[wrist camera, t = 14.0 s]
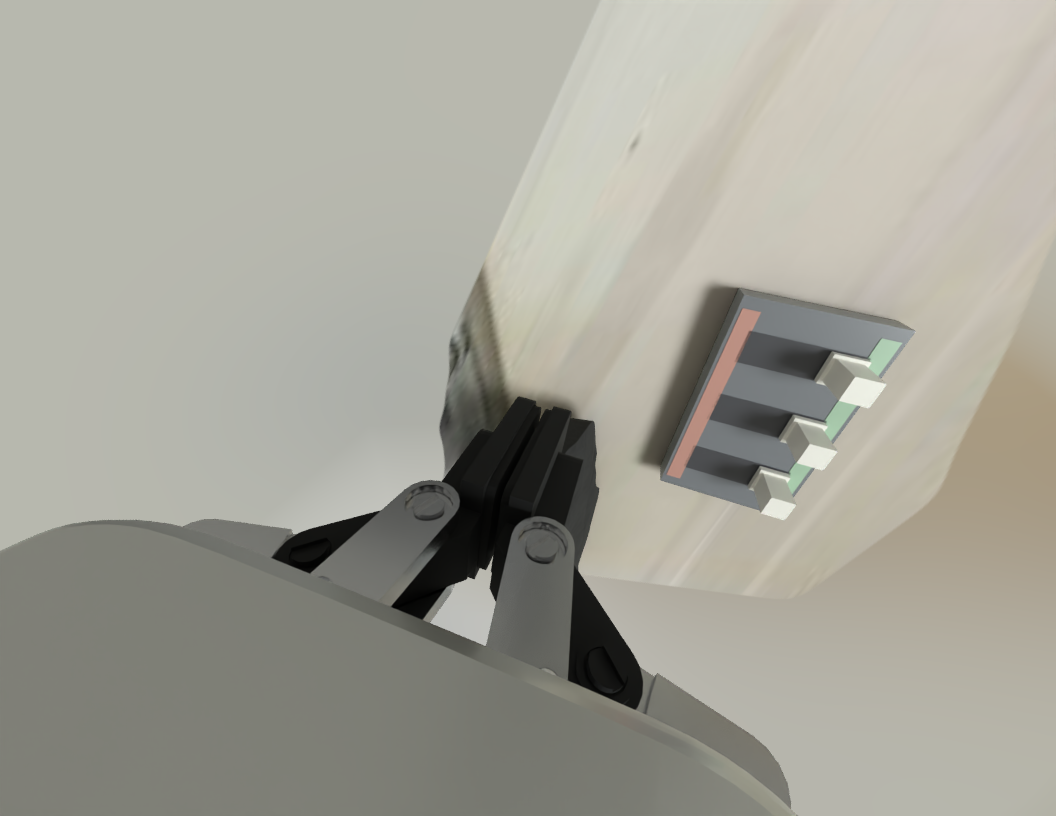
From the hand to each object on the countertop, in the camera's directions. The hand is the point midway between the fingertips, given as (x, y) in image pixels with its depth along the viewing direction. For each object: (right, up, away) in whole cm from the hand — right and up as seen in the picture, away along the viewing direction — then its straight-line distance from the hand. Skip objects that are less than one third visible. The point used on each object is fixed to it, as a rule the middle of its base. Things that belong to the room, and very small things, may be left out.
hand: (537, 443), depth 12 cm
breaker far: (+23, -6, +25) cm, 34 cm away
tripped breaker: (+24, -1, +22) cm, 32 cm away
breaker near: (+25, +4, +18) cm, 31 cm away
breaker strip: (+22, +1, +24) cm, 33 cm away
